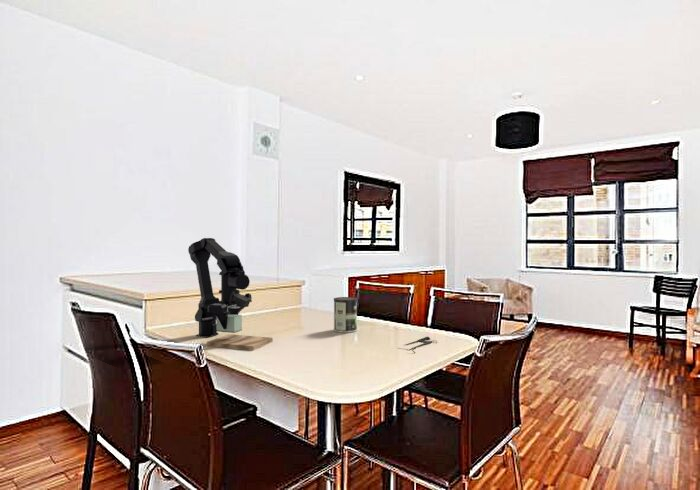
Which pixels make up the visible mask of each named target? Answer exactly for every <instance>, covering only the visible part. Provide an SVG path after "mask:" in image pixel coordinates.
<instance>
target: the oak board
mask: <svg viewBox="0 0 700 490" xmlns="http://www.w3.org/2000/svg"><path fill="white" fill-rule="evenodd" d="M273 340H274V339H273V337H266V336H255V335H245V334H244V335H243V334H235V333H231V334H230V333H228V334H224V335H222V336H219V337H217V338H215V339H211V340H209V341H206V347H214V348H216V347H217V348H222V349H223V348H227V349H235V350H245V351H256V350H257V349H260V348H262V347H264V346H266V345H269V344H270V343H272V342H273Z"/></svg>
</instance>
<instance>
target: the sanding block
mask: <svg viewBox="0 0 700 490" xmlns="http://www.w3.org/2000/svg"><path fill="white" fill-rule="evenodd" d="M216 324H217V333H219V332H220V333H228V334H230V333H231V334H235V333H239V332H241V331H242V330H243V315H242V314H238V315H236V314H229V315H228V318H227V328H226V329H223V327H222V325H221V323H220V321H219V319H218V318H217V320H216Z"/></svg>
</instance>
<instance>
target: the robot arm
mask: <svg viewBox="0 0 700 490" xmlns="http://www.w3.org/2000/svg"><path fill="white" fill-rule="evenodd" d="M187 252H188V254H189V257H190V259H191V261H192V263H193V264H194V265H195V268H196V275H197V280H198V285H199V292H200V296H201V297H200V300H199V303H198V305H197V306H198V309H197V311H196V313H195V315H194V321H195V322H197V323H198V333H197V334H196V337H204V338H205V337H206V338H210V337H214V336H216V335H219V332H218V331H217V318H218V319H219V321H220V323H221V325H222V327H223V329H226V328H227V318H228V315H229V314H236V315H240V312H241V311H242V310H244V308H249V306H250V303H252V302H253V300H252V294H251V293H249V292H248V293H245V294H241V293H240V292H241V291H240V290H243V291H244V290H246V289H247V288H248V287H249V285H250V282H251V281H250V278H249V276H248V275H247V274H246V272H245V270H244V265H242V262H241V259H240V258H239V256H238V255H237V254H235V253H234V252H230V251H227V250H226V249H225V248H223V247H222V246H221V245H220V243H218V242H217V240H216V239H215V238H213V237H204V238H201V239H200V240H198V241H195V242H192V243H191V244H190V245H189V246H188V251H187ZM211 256H212V257H214V258H215V260H216V265H217V267H218V268H219V269H220V272H219V276H221V277H220V278H221V280H220V281H221V283H220V285H221V287H220V288H221V289H219V290H218V293H219V294H220V295H221V296H220V298H221V300H220V298H219V297H216V296H215V295H214V292H213V291H214V289H213V285H212V284H213V283H212V280H211V273H210V266H209V260H210V257H211Z"/></svg>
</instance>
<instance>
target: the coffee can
mask: <svg viewBox="0 0 700 490" xmlns="http://www.w3.org/2000/svg"><path fill="white" fill-rule="evenodd" d="M357 303H358V298H357V297H354V296H353V297H351V296H339V297H333V331H334V332H336V333H345V334H346V333H354V332H357V331H358V328H357V327H358V322H357V321H358V318H357V316H358V315H357V314H358V310H357V307H358V304H357Z"/></svg>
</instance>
